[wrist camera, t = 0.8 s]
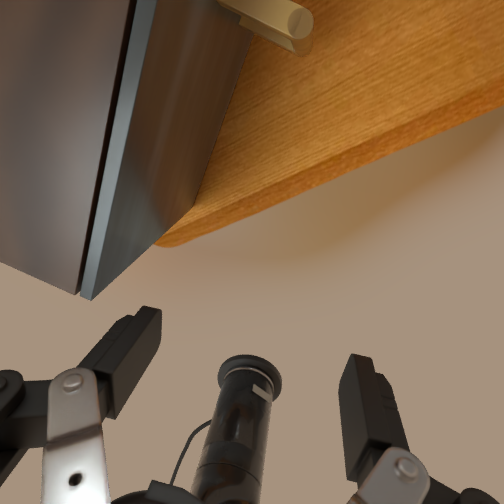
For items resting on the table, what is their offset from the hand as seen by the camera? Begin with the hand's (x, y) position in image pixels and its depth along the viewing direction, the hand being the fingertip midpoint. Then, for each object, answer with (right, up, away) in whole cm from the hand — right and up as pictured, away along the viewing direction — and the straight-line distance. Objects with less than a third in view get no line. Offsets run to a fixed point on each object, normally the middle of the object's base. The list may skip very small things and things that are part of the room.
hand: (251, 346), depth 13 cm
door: (-1, +19, +27) cm, 33 cm away
